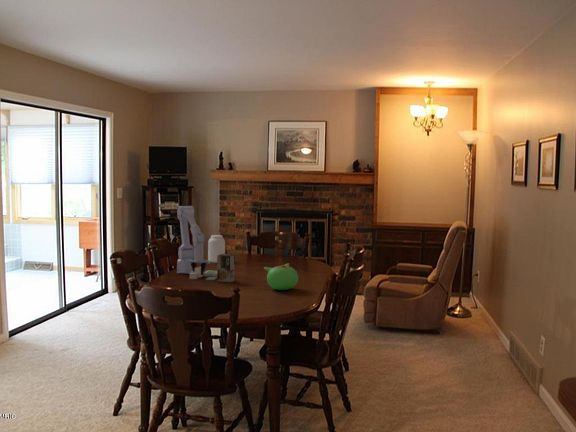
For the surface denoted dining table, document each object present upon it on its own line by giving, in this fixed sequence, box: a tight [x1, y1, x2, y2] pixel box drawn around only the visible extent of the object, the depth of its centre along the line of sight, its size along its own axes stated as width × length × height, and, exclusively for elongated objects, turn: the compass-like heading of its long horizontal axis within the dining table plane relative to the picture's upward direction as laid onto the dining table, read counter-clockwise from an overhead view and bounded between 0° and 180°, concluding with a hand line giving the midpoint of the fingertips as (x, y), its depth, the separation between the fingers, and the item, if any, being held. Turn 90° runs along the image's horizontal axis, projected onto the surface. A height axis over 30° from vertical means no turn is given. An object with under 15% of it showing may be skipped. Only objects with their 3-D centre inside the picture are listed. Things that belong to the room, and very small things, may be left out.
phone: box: [204, 276, 217, 282], centre depth 314 cm, size 6×8×1 cm
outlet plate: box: [202, 270, 217, 277], centre depth 328 cm, size 12×9×2 cm
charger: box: [195, 266, 204, 278], centre depth 321 cm, size 4×4×6 cm
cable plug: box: [189, 272, 200, 280], centre depth 315 cm, size 5×4×4 cm
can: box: [207, 234, 226, 264], centre depth 382 cm, size 12×12×20 cm
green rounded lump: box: [263, 262, 299, 291], centre depth 289 cm, size 18×17×15 cm
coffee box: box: [216, 253, 235, 283], centre depth 309 cm, size 9×6×16 cm
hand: (198, 274), depth 321 cm, fingers closed on charger, 4 cm apart
